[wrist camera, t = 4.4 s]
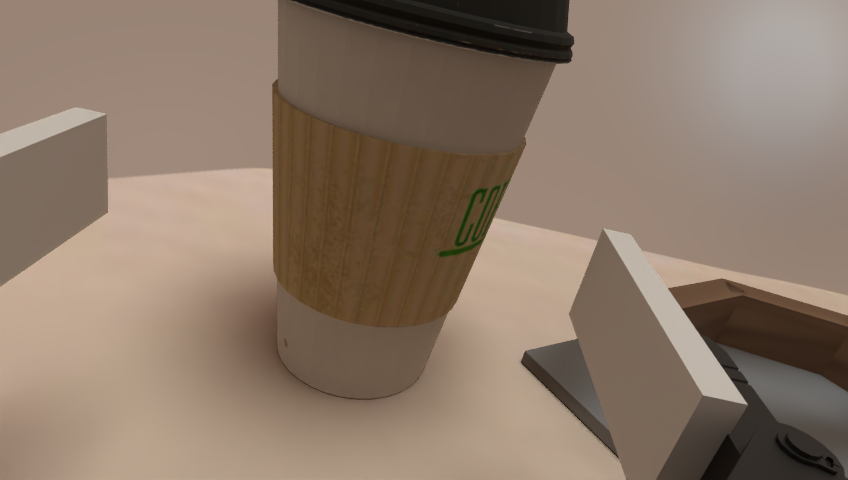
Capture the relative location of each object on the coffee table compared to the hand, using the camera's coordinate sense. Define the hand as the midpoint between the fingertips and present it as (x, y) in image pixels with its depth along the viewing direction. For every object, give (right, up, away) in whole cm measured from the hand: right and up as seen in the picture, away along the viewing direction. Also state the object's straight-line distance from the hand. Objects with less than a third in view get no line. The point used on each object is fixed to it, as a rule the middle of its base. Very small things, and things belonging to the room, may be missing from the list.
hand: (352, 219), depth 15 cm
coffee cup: (-1, -5, +9) cm, 10 cm away
